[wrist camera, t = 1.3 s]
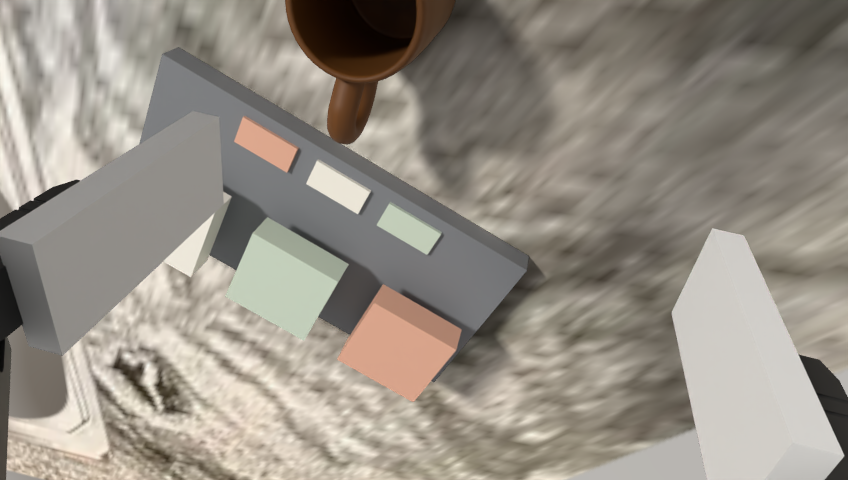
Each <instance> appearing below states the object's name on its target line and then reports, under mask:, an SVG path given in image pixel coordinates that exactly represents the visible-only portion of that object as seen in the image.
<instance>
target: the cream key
mask: <svg viewBox="0 0 848 480" xmlns="http://www.w3.org/2000/svg"><path fill="white" fill-rule="evenodd" d="M223 197H224V205H223V206H221V207H220V208H219V209H218V210H217V211H216V212H215V213H214V214H213V215H212V216H211V217H210V218H209V219H208V220H207V221H205V222H204V223H203V224H202V225H201V226H200V227H199V228H198V229H197V230H196V231H195V232H194V233H193V234H192V235H191V236H189V237H188V238H187V239H186V240H185V241H184V242H183V243H182V244H181V245H180V246H179V247H178V248H177V249H176V250H175V251H173V252H172V253H171V254H170V255H169V256H168V257H167V258H166V259H165V260H164V261H163V262H165V263H167V264H168V265H170V266H172V267H174V268H175V269H177V270H179V271H181V272H183V273H184V274H186V275H188V276H190V277H191V276H192V275H193V274H194V273H195V272H196V271H197V270H198V269H199V268H200V267H201V266H202V265H203V264H204V263H205V262H206V261H207V260H208V257H209V254H210V252H211V249H212V247H213V244H214V241H215V239H216V236H217V234H218V231H219V229H220V226H221V223H222V221H223V218H224V216H225V213H226V210H227V208H228V205H229V203H230V200H231V198H232V196H230V195H228V194H227V193H225V192H223Z"/></svg>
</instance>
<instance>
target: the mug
mask: <svg viewBox="0 0 848 480" xmlns="http://www.w3.org/2000/svg"><path fill="white" fill-rule="evenodd" d="M285 4H286V13H287V17H288V22H289V25H290V28H291V31H292V33H293V35H294V37H295V39H296V41H297V43H298V44H299V46H300V48H301V49H302V50H303V52H304V53H305V54H306V56H307V57H308V58H309V59H310V60H311V61H312V62H313V63H314V64H315V65H317V66H318V67H319V68H320V69H322V70H323V71H325V72H326V73H328V74H330V75H332V76H334V77H336V81H335V85H334V88H333V92H332V96H331V100H330V104H329V109H328V118H327V129H328V132H329V134H330V136H331V138H332V139H333V140H334V141H335V142H337V143H340V144H350V143H353V142H354V141H355V140H356V139H357V138H358V137H359V136H360V135H361V133H362V131H363V129H364V127H365V125H366V123H367V121H368V118H369V115H370V112H371V109H372V106H373V102H374V98H375V94H376V89H377V84H378V81H380V80H383V79H386V78H388V77H390V76H392V75H394V74H395V73H397V72H398V71H400V70H401V69H403V68H404V67H406V66H407V65H408V64H410V63H411V62H412V61H413V60H414V59H415V58H416V57H417V56H418V55H419V54H420V53H421V52H422V51H423V50H424V49H425V48H426V47H427V46H428V44H429V43H430V42H431V41H432V40H433V38H434V37H435V36H436V35H437V34H438V33H439V32H440V30H441V29H442V28H443V27H444V25H445V24H446V22H447V20H448V19H449V17H450V15H451V12H452V10H453V7H454V4H455V0H285Z"/></svg>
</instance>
